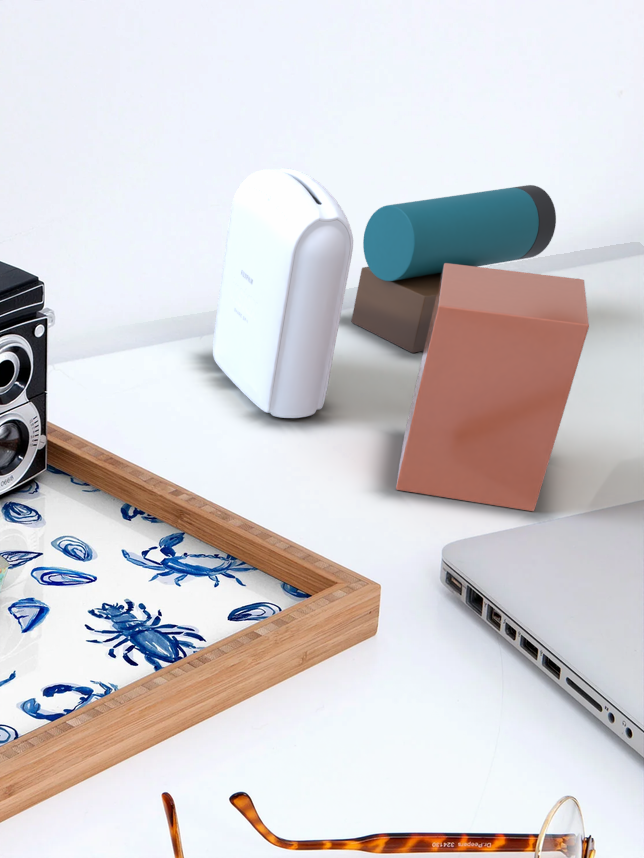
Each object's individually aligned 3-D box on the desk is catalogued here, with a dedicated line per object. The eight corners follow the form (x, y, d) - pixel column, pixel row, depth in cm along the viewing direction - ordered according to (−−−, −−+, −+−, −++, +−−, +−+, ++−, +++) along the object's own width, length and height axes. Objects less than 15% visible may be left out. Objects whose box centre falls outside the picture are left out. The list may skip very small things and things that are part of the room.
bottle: (412, 283, 91) (415, 205, 89) (361, 279, 95) (363, 204, 93) (553, 259, 96) (559, 185, 94) (499, 256, 100) (503, 184, 98)
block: (412, 353, 93) (425, 296, 91) (350, 322, 98) (361, 267, 95) (488, 338, 96) (502, 282, 94) (424, 308, 100) (437, 254, 98)
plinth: (533, 457, 81) (584, 279, 75) (534, 512, 76) (589, 325, 70) (403, 437, 83) (444, 262, 77) (395, 490, 77) (438, 305, 72)
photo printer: (201, 356, 92) (229, 152, 85) (265, 352, 93) (298, 150, 86) (261, 424, 84) (298, 204, 77) (331, 419, 85) (374, 202, 77)
